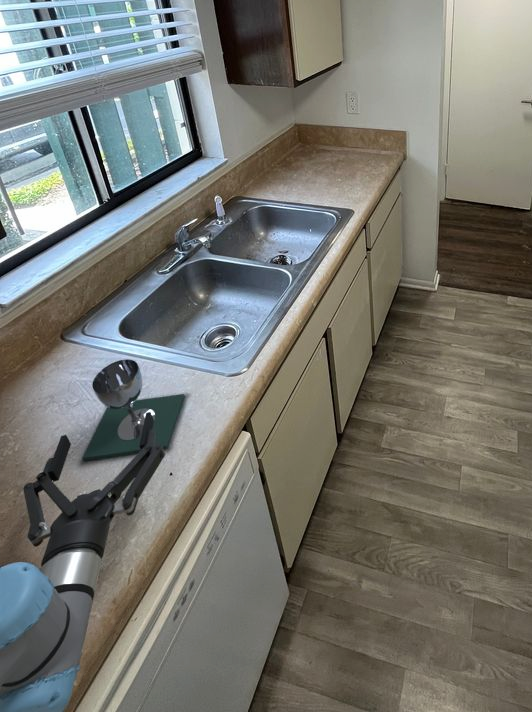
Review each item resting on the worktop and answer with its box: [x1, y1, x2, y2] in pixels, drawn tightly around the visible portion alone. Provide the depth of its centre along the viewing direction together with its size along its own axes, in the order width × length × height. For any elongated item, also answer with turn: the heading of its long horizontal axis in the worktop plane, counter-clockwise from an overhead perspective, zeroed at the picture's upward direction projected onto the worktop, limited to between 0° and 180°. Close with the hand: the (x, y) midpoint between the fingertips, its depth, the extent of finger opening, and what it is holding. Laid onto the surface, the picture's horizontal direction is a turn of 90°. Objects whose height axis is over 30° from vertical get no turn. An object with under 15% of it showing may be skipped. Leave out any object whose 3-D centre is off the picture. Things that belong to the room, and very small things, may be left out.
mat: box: [81, 393, 186, 462], centre depth 94 cm, size 16×12×1 cm
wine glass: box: [91, 358, 155, 440], centre depth 90 cm, size 8×8×15 cm
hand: (109, 427), depth 81 cm, fingers open, 13 cm apart
